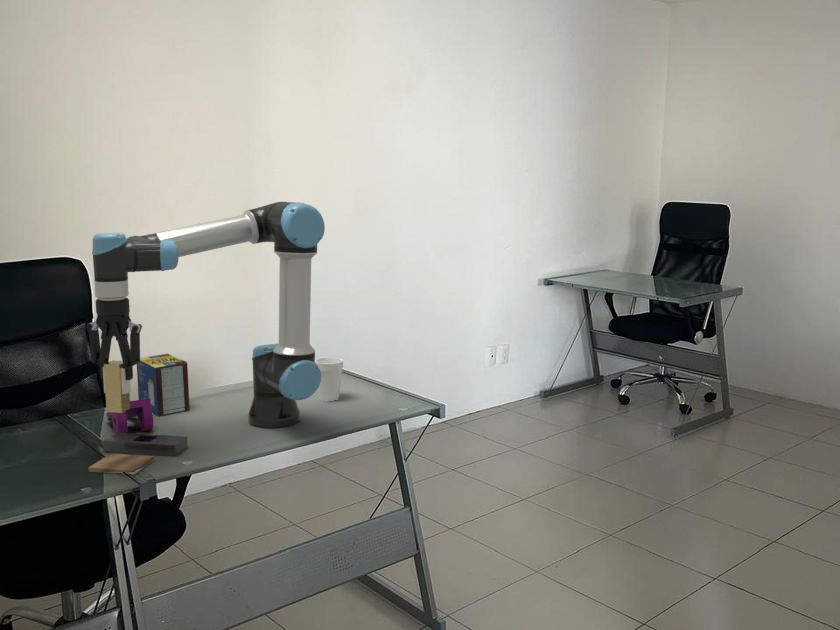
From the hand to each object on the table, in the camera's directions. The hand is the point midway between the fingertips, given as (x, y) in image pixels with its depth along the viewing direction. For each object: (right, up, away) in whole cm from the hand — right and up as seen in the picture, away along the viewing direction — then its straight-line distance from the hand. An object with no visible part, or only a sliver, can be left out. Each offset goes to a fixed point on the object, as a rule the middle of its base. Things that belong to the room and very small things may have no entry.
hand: (117, 391), depth 189 cm
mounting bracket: (-10, -14, +34) cm, 38 cm away
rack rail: (+2, -17, +15) cm, 23 cm away
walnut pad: (0, -19, +3) cm, 19 cm away
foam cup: (+44, -9, +64) cm, 78 cm away
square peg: (0, -5, +1) cm, 5 cm away
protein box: (-6, -11, +52) cm, 53 cm away
